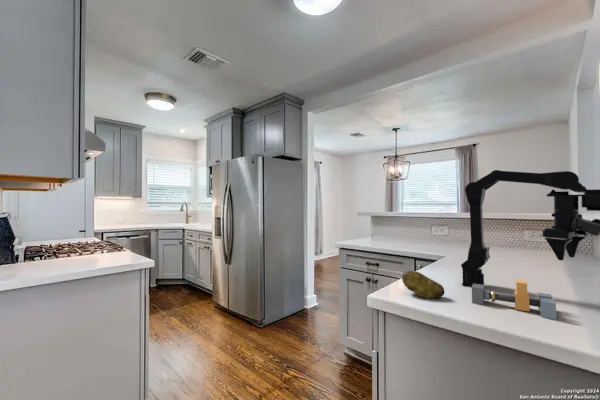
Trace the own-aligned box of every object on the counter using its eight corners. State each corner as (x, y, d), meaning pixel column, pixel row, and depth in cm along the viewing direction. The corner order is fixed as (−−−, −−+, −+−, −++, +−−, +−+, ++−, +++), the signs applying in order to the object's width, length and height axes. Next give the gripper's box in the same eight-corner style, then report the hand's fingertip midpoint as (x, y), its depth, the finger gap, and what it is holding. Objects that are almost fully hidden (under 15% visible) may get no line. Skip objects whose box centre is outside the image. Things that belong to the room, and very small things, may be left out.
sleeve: (515, 309, 81) (514, 282, 81) (514, 304, 85) (514, 279, 85) (529, 311, 79) (528, 284, 79) (528, 306, 83) (527, 280, 83)
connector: (472, 302, 87) (471, 287, 87) (473, 298, 91) (473, 283, 91) (489, 305, 85) (488, 289, 85) (489, 301, 89) (489, 285, 89)
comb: (541, 317, 76) (541, 300, 76) (537, 307, 83) (537, 292, 83) (556, 319, 74) (555, 303, 74) (551, 309, 81) (550, 294, 82)
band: (491, 302, 85) (491, 291, 85) (491, 299, 88) (491, 289, 88) (494, 303, 84) (494, 292, 85) (494, 300, 87) (494, 289, 87)
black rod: (481, 298, 87) (481, 292, 87) (481, 296, 89) (481, 290, 89) (539, 307, 79) (539, 300, 79) (539, 305, 80) (538, 298, 80)
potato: (435, 303, 87) (435, 278, 87) (398, 293, 97) (398, 271, 97) (447, 297, 92) (446, 274, 92) (411, 289, 102) (410, 267, 102)
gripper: (591, 211, 77) (591, 267, 77) (611, 210, 86) (612, 260, 86) (541, 210, 87) (541, 260, 87) (564, 209, 96) (565, 254, 96)
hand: (566, 258), depth 89 cm, fingers open, 9 cm apart
